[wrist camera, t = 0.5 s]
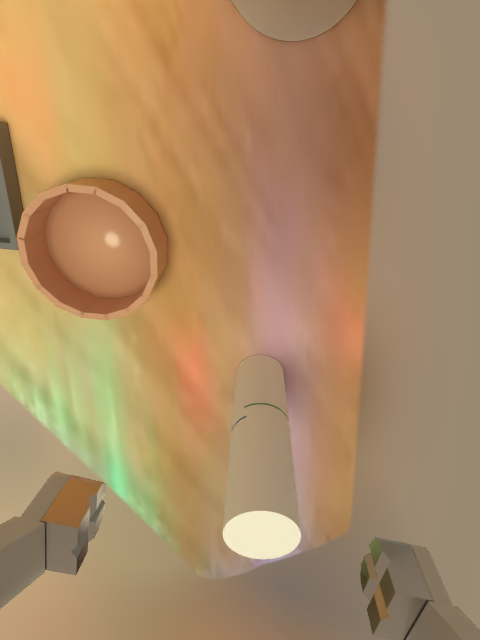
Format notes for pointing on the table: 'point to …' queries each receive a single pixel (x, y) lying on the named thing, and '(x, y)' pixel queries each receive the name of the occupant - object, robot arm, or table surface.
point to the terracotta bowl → (93, 247)
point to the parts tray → (8, 193)
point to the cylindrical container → (261, 465)
